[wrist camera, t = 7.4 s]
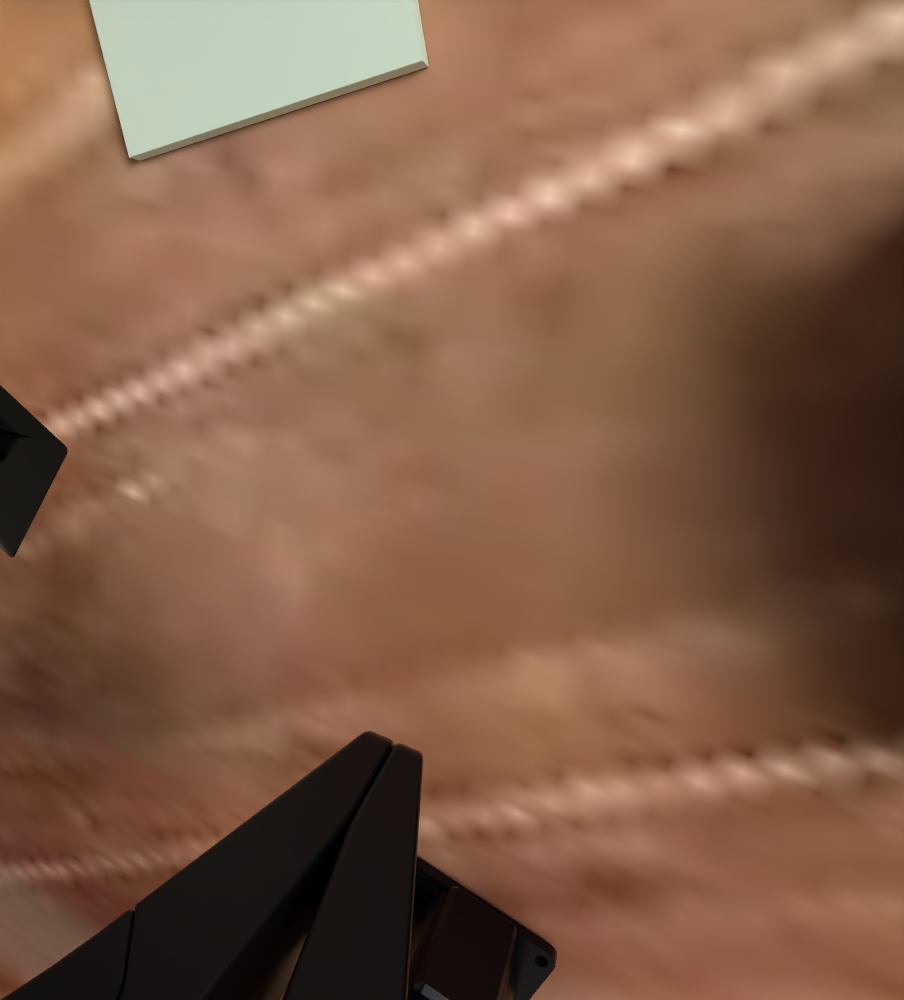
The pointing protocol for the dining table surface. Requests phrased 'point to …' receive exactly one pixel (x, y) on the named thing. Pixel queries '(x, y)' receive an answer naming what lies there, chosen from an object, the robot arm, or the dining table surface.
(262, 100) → the mat
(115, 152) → the dining table surface
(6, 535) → the black boxy device
